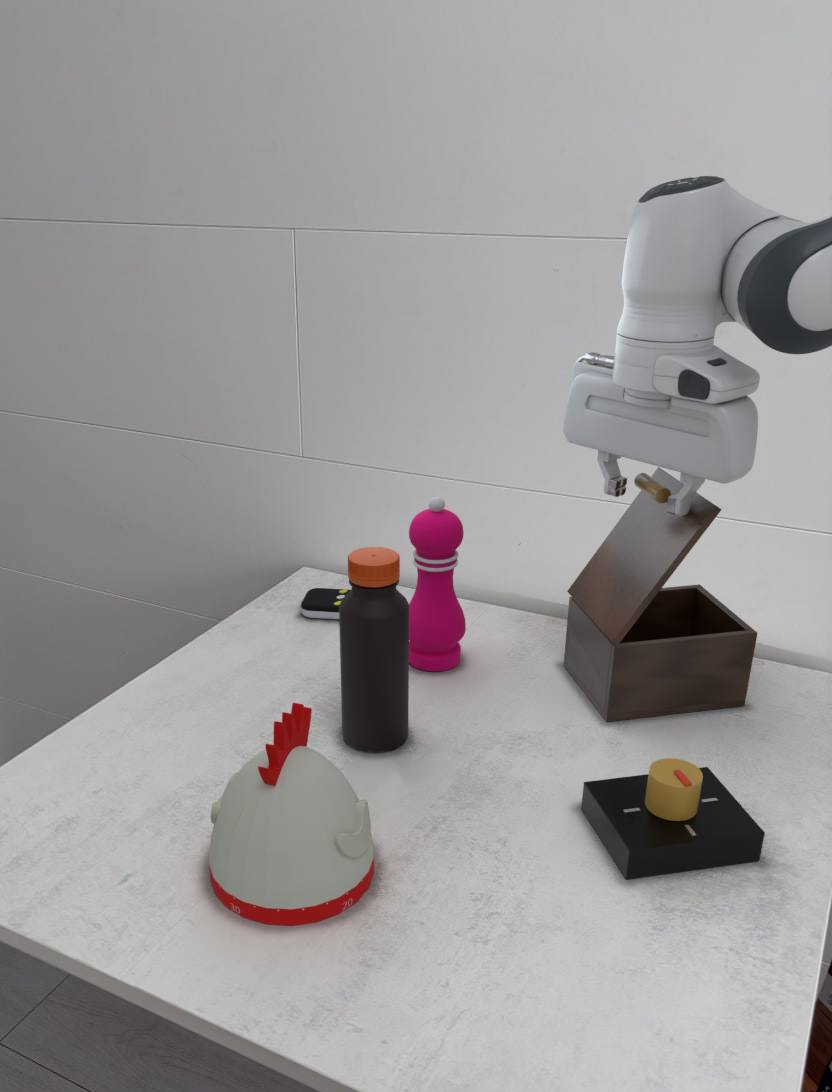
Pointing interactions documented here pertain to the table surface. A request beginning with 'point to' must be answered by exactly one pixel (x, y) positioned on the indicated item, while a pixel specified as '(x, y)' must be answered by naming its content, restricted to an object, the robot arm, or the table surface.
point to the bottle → (374, 652)
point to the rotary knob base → (670, 828)
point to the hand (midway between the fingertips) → (645, 503)
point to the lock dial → (673, 789)
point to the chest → (663, 657)
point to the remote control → (323, 603)
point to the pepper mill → (435, 590)
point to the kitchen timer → (290, 833)
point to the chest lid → (640, 554)
